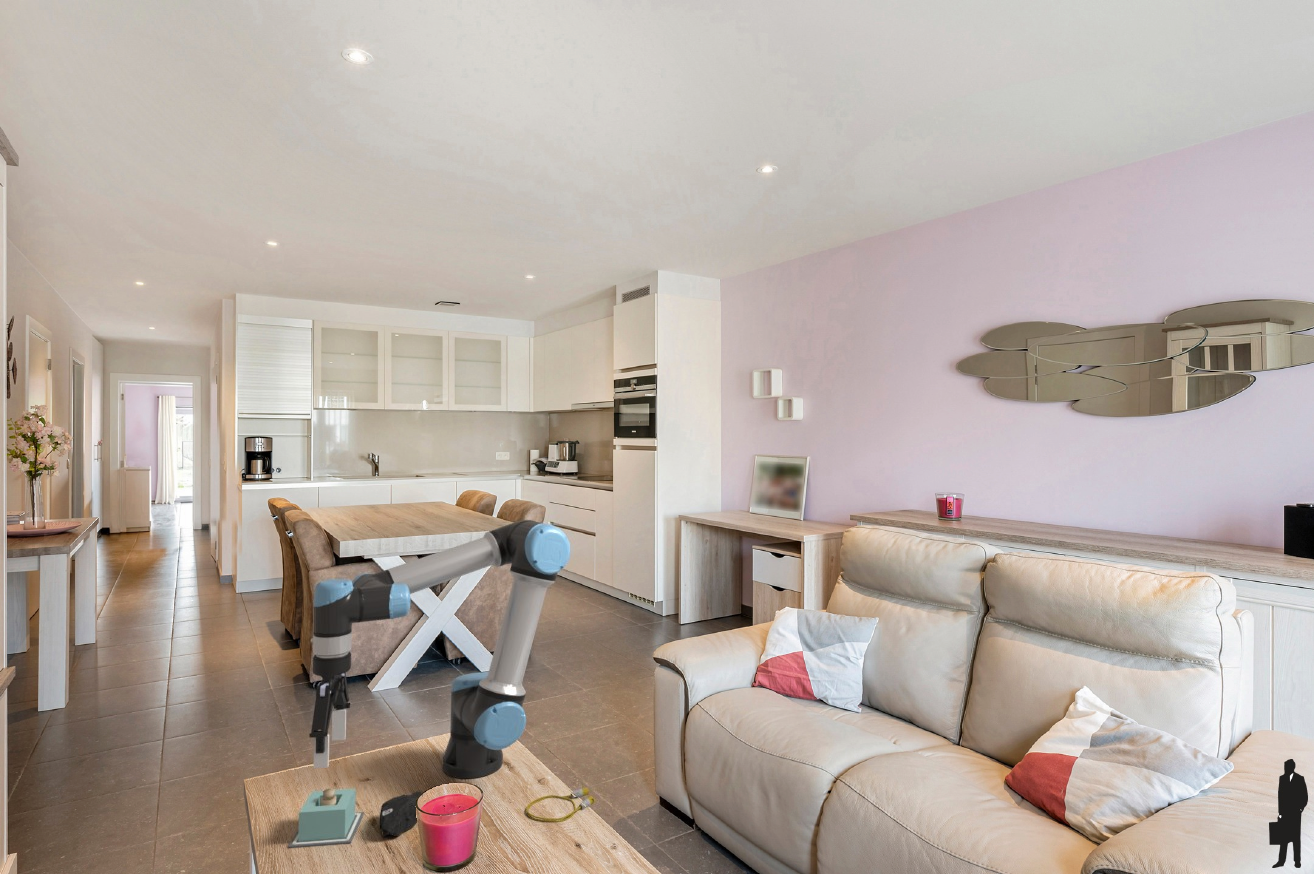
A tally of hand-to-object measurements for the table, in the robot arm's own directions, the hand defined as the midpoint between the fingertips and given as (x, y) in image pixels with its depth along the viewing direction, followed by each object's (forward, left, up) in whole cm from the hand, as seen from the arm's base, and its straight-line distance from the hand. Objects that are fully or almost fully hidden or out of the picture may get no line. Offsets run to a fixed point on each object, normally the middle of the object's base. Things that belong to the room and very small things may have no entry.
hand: (330, 752), depth 151 cm
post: (0, 0, -16) cm, 16 cm away
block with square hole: (0, 0, -16) cm, 16 cm away
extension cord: (-49, -2, -17) cm, 52 cm away
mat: (0, 0, -16) cm, 16 cm away
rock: (-14, 0, -17) cm, 22 cm away
